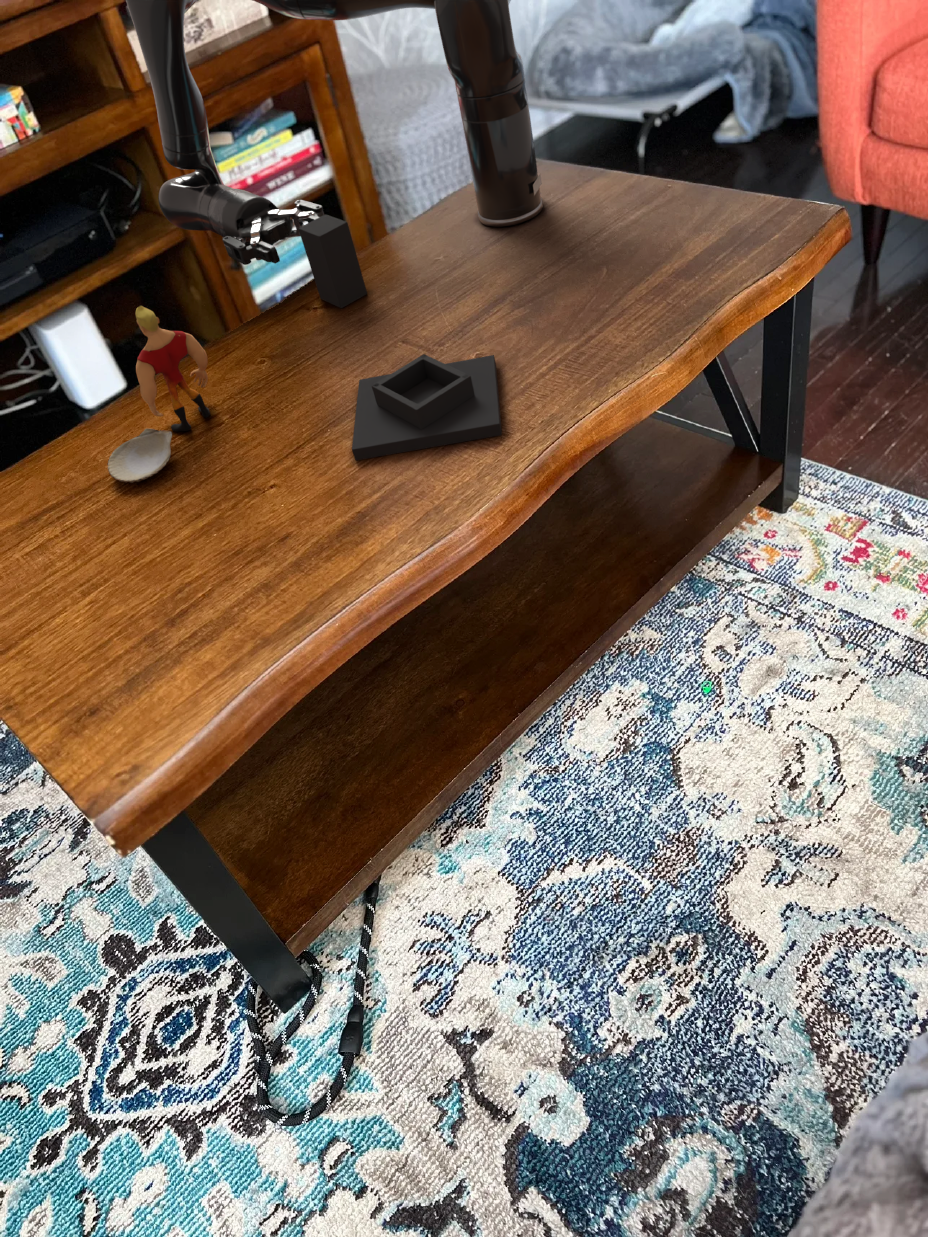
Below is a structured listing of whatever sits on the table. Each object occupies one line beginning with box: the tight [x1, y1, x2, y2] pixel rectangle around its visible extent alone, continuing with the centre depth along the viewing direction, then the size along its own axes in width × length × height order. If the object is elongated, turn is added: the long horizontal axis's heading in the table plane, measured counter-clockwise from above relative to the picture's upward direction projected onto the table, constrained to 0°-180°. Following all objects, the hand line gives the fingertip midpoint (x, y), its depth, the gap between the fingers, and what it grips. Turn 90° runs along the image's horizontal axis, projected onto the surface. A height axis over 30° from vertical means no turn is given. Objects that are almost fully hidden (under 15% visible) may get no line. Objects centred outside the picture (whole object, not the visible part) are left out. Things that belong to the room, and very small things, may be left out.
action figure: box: [135, 305, 211, 432], centre depth 110 cm, size 10×4×15 cm, turn 139°
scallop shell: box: [106, 428, 173, 484], centre depth 109 cm, size 8×3×8 cm
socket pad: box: [351, 353, 503, 461], centre depth 106 cm, size 14×16×4 cm
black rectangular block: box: [298, 213, 368, 309], centre depth 128 cm, size 5×4×10 cm
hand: (301, 242), depth 131 cm, fingers open, 8 cm apart
